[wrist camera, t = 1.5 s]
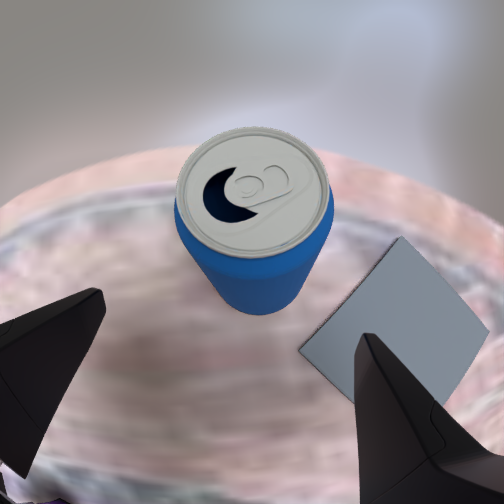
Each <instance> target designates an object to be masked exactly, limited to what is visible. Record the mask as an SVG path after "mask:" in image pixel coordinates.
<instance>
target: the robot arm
mask: <svg viewBox="0 0 504 504" xmlns="http://www.w3.org/2000/svg"><path fill="white" fill-rule="evenodd" d="M105 313H106V305H105V301H104V296H103V292H102V290H100V289H97V288H93V287H91V288H88V289H86V290H83V291H81V292H78V293H76V294H73V295H71V296H68V297H66V298H63V299H61V300H58V301H56V302H53V303H51V304H48V305H46V306H43V307H41V308H39V309H36V310H34V311H31V312H29V313H26V314H24V315H22V316H19V317H17V318H15V319H12V320H10V321H7V322H5V323H2V324H0V466H1V465H2V463H4V464H5V465H6V466H7V467H9V468H10V469H11V470H13V471H14V472H15V473H17V474H18V475H19V476H21V477H22V478H23V479H26V477H27V475H28V472H29V470H30V468H31V465H32V463H33V460H34V458H35V456H36V453H37V451H38V449H39V446H40V444H41V442H42V440H43V437H44V434H45V433H46V431H47V429H48V426H49V424H50V422H51V420H52V418H53V416H54V414H55V412H56V410H57V408H58V406H59V404H60V402H61V400H62V398H63V396H64V394H65V392H66V390H67V388H68V386H69V384H70V383H71V381H72V379H73V377H74V375H75V373H76V371H77V370H78V368H79V366H80V364H81V362H82V361H83V359H84V357H85V355H86V354H87V352H88V350H89V348H90V346H91V344H92V342H93V340H94V338H95V335H96V333H97V331H98V329H99V327H100V324H101V322H102V320H103V318H104V316H105ZM354 404H355V415H356V427H357V441H358V458H359V483H360V504H504V456H501V455H497V454H494V453H491V452H490V451H488V450H486V449H485V448H484V447H483V446H482V445H481V444H480V443H479V442H478V441H476V440H475V439H474V438H473V437H472V436H471V435H470V434H469V433H468V432H467V431H466V430H465V429H464V428H463V427H462V426H461V425H460V424H459V423H458V422H456V421H455V420H454V419H453V418H452V417H451V416H450V414H449V413H448V412H447V411H446V410H445V409H444V408H443V407H442V406H441V405H440V404H439V402H438V401H437V400H435V398H434V397H433V396H432V395H431V394H430V392H429V391H428V390H427V389H426V388H425V387H424V386H423V385H422V384H421V382H420V381H419V380H418V379H417V378H416V377H415V376H414V375H413V374H412V373H411V371H410V370H409V369H408V368H407V367H406V366H405V365H404V364H403V363H402V362H401V361H400V359H399V358H398V357H397V356H396V355H395V354H394V353H393V352H392V351H391V350H390V349H389V348H388V347H387V346H386V344H385V343H384V342H383V341H382V340H381V339H380V338H379V337H378V336H377V335H376V334H375V333H366V332H364V333H363V334H362V335H361V337H360V340H359V343H358V345H357V347H356V350H355V354H354ZM0 504H17V503H15V502H14V501H13V500H12V499H10V498H9V497H8V496H7V493H6V489H5V485H4V480H3V476H2V473H1V472H0Z"/></svg>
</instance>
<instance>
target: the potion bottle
mask: <svg viewBox="0 0 504 504" xmlns="http://www.w3.org/2000/svg"><path fill="white" fill-rule="evenodd" d="M17 504H34V503H33V502H28V503H17ZM38 504H70V503H68V502H66V501H64V500H62V499H61V498H59V499H56V500H54V501H51V502H45V503H38Z"/></svg>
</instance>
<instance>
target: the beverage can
mask: <svg viewBox="0 0 504 504" xmlns="http://www.w3.org/2000/svg"><path fill="white" fill-rule="evenodd" d="M174 214H175V223H176V227H177V231H178V233H179V236H180V238H181V240H182V242H183V244H184V245H185V247H186V248H187V250H188V251H189V253H190V254H191V255H192V257H193V258H194V260H195V261H196V262H197V264H198V265H199V267H200V268H201V269H202V271H203V272H204V273H205V275H206V276H207V278H208V279H209V280H210V282H211V283H212V284H213V286H214V287H215V288H216V290H217V291H218V292H219V294H220V295H221V296H222V298H223V299H224V300H225V301H226V302H227V303H228V304H229V305H230V306H232V307H233V308H235V309H237V310H239V311H241V312H244V313H247V314H252V315H266V314H271V313H274V312H277V311H279V310H281V309H283V308H284V307H286V306H287V305H288V304H290V303H291V302H292V301H293V300H294V299H295V297H296V296H297V295H298V293H299V291H300V290H301V288H302V286H303V284H304V282H305V280H306V278H307V276H308V274H309V272H310V270H311V268H312V267H313V265H314V263H315V261H316V259H317V257H318V255H319V253H320V251H321V249H322V247H323V245H324V243H325V241H326V239H327V236H328V234H329V232H330V229H331V226H332V222H333V216H334V199H333V194H332V190H331V187H330V184H329V180H328V175H327V172H326V170H325V167H324V165H323V163H322V161H321V160H320V158H319V157H318V156H317V154H316V153H315V152H314V151H313V150H312V149H311V148H310V147H309V146H308V145H307V144H306V143H304V142H303V141H301V140H300V139H298V138H296V137H295V136H293V135H291V134H289V133H286V132H283V131H280V130H277V129H273V128H266V127H243V128H237V129H233V130H229V131H226V132H223V133H221V134H218V135H216V136H214V137H212V138H211V139H209V140H208V141H206V142H204V143H203V144H202V145H201V146H199V147H198V148H197V149H196V150H195V151H194V152H193V153H192V154H191V155H190V157H189V158H188V159H187V161H186V162H185V164H184V166H183V167H182V169H181V172H180V174H179V177H178V181H177V185H176V198H175V205H174Z"/></svg>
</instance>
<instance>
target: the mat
mask: <svg viewBox="0 0 504 504" xmlns="http://www.w3.org/2000/svg"><path fill="white" fill-rule="evenodd" d="M364 332H366V333H375V334H376V335H377V336H378V337H379V338H380V339H381V340H382V341H383V342H384V343H385V344H386V346H387V347H388V348H389V349H390V350H391V351H392V352H393V353H394V354H395V355H396V356H397V357H398V358H399V359H400V361H401V362H402V363H403V364H404V365H405V366H406V367H407V368H408V369H409V370H410V371H411V373H412V374H413V375H414V376H415V377H416V378H417V379H418V380H419V381H420V382H421V384H422V385H423V386H424V387H425V388H426V389H427V390H428V391H429V392H430V394H431V395H432V396H433V397H434V398H435V400H437V401H438V402H439V404H440V405H441V406H442V407H443V405H444V404H445V403H446V401H447V400H448V399H449V397H450V396H451V394H452V393H453V391H454V390H455V389H456V387H457V386H458V384H459V383H460V381H461V380H462V378H463V377H464V375H465V373H466V372H467V370H468V369H469V367H470V365H471V364H472V362H473V360H474V359H475V357H476V355H477V354H478V352H479V350H480V348H481V347H482V345H483V343H484V341H485V339H486V337H487V336H488V334H489V331H488V329H487V328H486V327H485V326H484V324H483V323H482V322H481V321H480V319H479V318H478V317H477V316H476V315H475V313H474V312H473V311H472V310H471V309H470V307H469V306H468V305H467V304H466V303H465V302H464V300H463V299H462V298H461V297H460V296H459V295H458V294H457V292H456V291H455V290H454V289H453V288H452V287H451V286H450V285H449V284H448V282H447V281H446V280H445V279H444V278H443V277H442V276H441V275H440V274H439V273H438V272H437V271H436V270H435V269H434V267H433V266H432V265H431V264H430V263H429V262H428V261H427V260H426V259H425V258H424V257H423V256H422V255H421V254H420V253H419V252H418V251H417V250H416V249H415V248H414V247H413V246H412V245H411V244H410V243H409V242H408V241H407V240H406V239H405V238H404V237H403V236H402V235H401V236H400V237H399V238H398V240H397V241H396V242H395V244H394V245H393V246H392V247H391V249H390V250H389V251H388V252H387V254H386V255H385V256H384V257H383V258H382V260H381V261H380V262H379V263H378V264H377V266H376V267H375V268H374V269H373V270H372V272H371V273H370V274H369V275H368V276H367V278H366V279H365V280H364V281H363V282H362V283H361V284H360V286H359V287H358V288H357V289H356V290H355V291H354V292H353V294H352V295H351V296H350V297H349V298H348V299H347V300H346V301H345V302H344V304H343V305H342V306H341V307H340V308H339V309H338V310H337V311H336V312H335V313H334V314H333V316H332V317H331V318H330V319H329V320H328V321H327V322H326V323H325V324H324V325H323V326H322V327H321V328H320V329H319V330H318V331H317V332H316V333H315V334H314V335H313V336H312V337H311V339H310V340H309V341H308V342H307V343H306V344H305V345H304V346H303V347H302V348H301V349H300V350H299V352H300V353H301V354H302V355H303V356H304V357H305V358H306V359H307V360H308V361H310V362H311V363H312V364H313V365H314V366H315V367H316V368H317V369H318V370H319V371H320V372H321V373H322V374H323V375H324V376H325V377H326V378H327V379H328V380H329V381H330V382H331V383H332V384H333V385H335V386H336V387H337V388H338V389H339V390H340V391H341V392H342V393H343V394H344V395H345V396H346V397H347V398H348V399H349V400H350V401H352V402H353V403H354V354H355V350H356V347H357V345H358V343H359V340H360V337H361V335H362V334H363V333H364Z"/></svg>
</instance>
